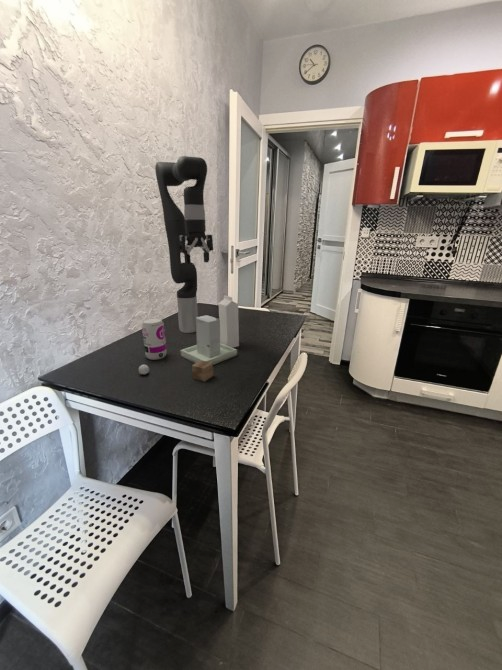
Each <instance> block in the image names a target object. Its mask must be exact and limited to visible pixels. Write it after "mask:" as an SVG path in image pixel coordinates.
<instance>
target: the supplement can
mask: <svg viewBox="0 0 502 670" xmlns="http://www.w3.org/2000/svg"><path fill="white" fill-rule="evenodd" d="M164 324H165V323H164V321H163V320H162V319H161V318H158V317H152V318H146V319H144V320H142V323H141V331H142V338H143V345H144V353H145V354H144V355H145V357H146V358H147V359H148V360H154V361H156V360H161V359H164V358H165V357H166V356H167V354H168V352H167V342H166V335H165V334H166V333H165V325H164Z"/></svg>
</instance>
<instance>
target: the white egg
mask: <svg viewBox="0 0 502 670" xmlns="http://www.w3.org/2000/svg"><path fill="white" fill-rule="evenodd" d="M149 371H150V367H149V366H148V365H147V364H141V365H139V367H138V373H139V374H140V375H142V376H143V375H146V374H148V373H149Z"/></svg>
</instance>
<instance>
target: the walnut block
mask: <svg viewBox="0 0 502 670" xmlns="http://www.w3.org/2000/svg"><path fill="white" fill-rule="evenodd" d="M213 366H214V365H213V363H211V362H207V361H203V360H200V361H199V362H197V363H195V362H194V364H192V365H191V370H192V379H194V380H197V381H201V382H204V383H205V382H206V381H208V380H210V379H211V378H212V377H214V367H213Z"/></svg>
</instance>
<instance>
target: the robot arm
mask: <svg viewBox="0 0 502 670" xmlns="http://www.w3.org/2000/svg"><path fill="white" fill-rule="evenodd" d="M154 169H155V170H154V171H155V177H156V182H157V187H158V191H159V195H160V200H161V205H162V213H163V221H164V227H165V234H166V238H167V244H168V245H167V246H168V254H169V265H170V266H169V268H170V273H171V279H172V280H173V282H174V283H175V284H183V286H181V288H179V289H178V290H177V291H176V298H177V299H176V300H177V301H176V302H177V309H178V310H177V318H178V319H177V320H178V330H179V331H180V332H181V333H183V334H189V333H196V318H197V317H199V312H198V299H197V298H198V297H197V292H198V271H197V267H196V265H195V263H193V262H192V260H191V254H190V253H191V251H193V249H194V248H201V249H202V251H203V253H202V254H203V262H204V263H209V261H210V252H211V251H214V243H213V234H206V232H207V230H206V228H207V227H206V213H205V212H206V211H205V202H204V201H205V199H204V191H205V184H206V178H207V174H208V163H207V162H206V160H205V159H204V158H202V157H200V156H199V157H197V156H187V155H183V156H179V157H178V158H177V161H176V162H171V161H168V162H167V161H158V162H156V164H155V168H154ZM190 180H191V181H192V180H194V181H196V182H195V184H194V185H193V186H191V185H190V186H186V187H185V188H184V189H183V203H184V205H183V206H184V207H183V208H184V209H183V212H182V210H181V209H180V207H179V206H178V205H177V204H176V202H175V201H174V200H173V198H172V197H171V195H170V192H169V189H168V187H179V186H181V185H182V184H183V183H184V182H186V181H187V182H188V181H190ZM186 242H187V243H186ZM181 254H183V255H184V256H183V257H184V262H182V261H181V260H182V259H181V257H182V256H181Z"/></svg>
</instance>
